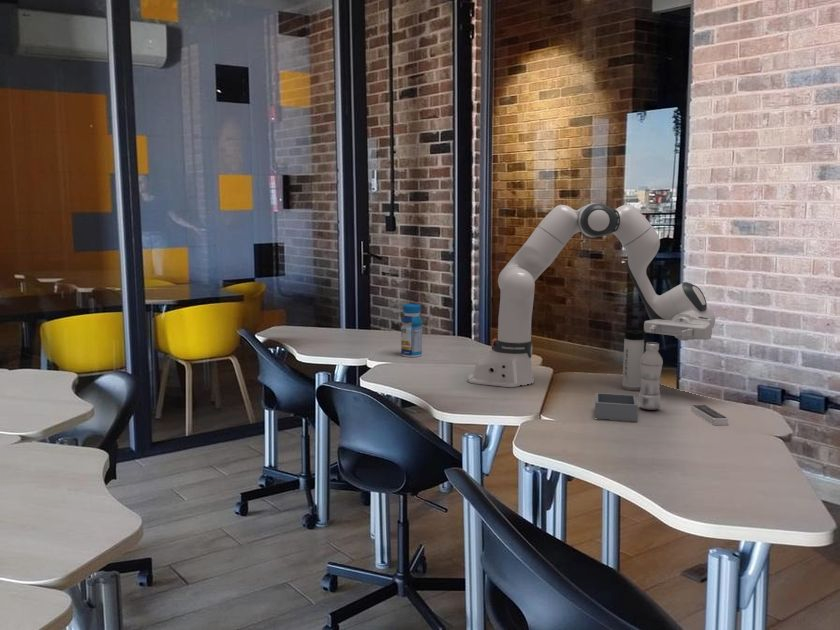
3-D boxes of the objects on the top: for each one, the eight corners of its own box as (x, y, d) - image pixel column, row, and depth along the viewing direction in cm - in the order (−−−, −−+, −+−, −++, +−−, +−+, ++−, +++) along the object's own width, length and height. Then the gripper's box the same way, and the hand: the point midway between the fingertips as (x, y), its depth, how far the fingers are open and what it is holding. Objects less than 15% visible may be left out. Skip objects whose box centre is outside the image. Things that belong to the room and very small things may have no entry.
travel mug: (639, 386, 267) (642, 327, 264) (643, 391, 260) (646, 330, 257) (620, 385, 267) (623, 326, 264) (623, 390, 261) (626, 330, 258)
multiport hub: (713, 426, 223) (713, 418, 222) (690, 412, 237) (690, 404, 237) (728, 426, 223) (728, 418, 223) (704, 412, 238) (704, 404, 237)
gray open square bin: (594, 419, 228) (595, 402, 227) (594, 408, 239) (595, 392, 238) (636, 421, 225) (637, 405, 225) (634, 411, 237) (635, 395, 236)
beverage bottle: (422, 357, 309) (422, 306, 305) (400, 357, 309) (400, 306, 306) (422, 353, 317) (422, 303, 314) (401, 353, 317) (401, 303, 314)
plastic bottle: (648, 413, 234) (652, 346, 231) (632, 407, 240) (636, 342, 237) (665, 410, 237) (669, 344, 234) (649, 405, 243) (652, 340, 240)
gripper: (655, 313, 262) (635, 318, 252) (716, 319, 249) (698, 325, 238) (654, 332, 263) (634, 338, 253) (716, 339, 249) (697, 346, 239)
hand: (666, 332), depth 246 cm, fingers open, 8 cm apart
